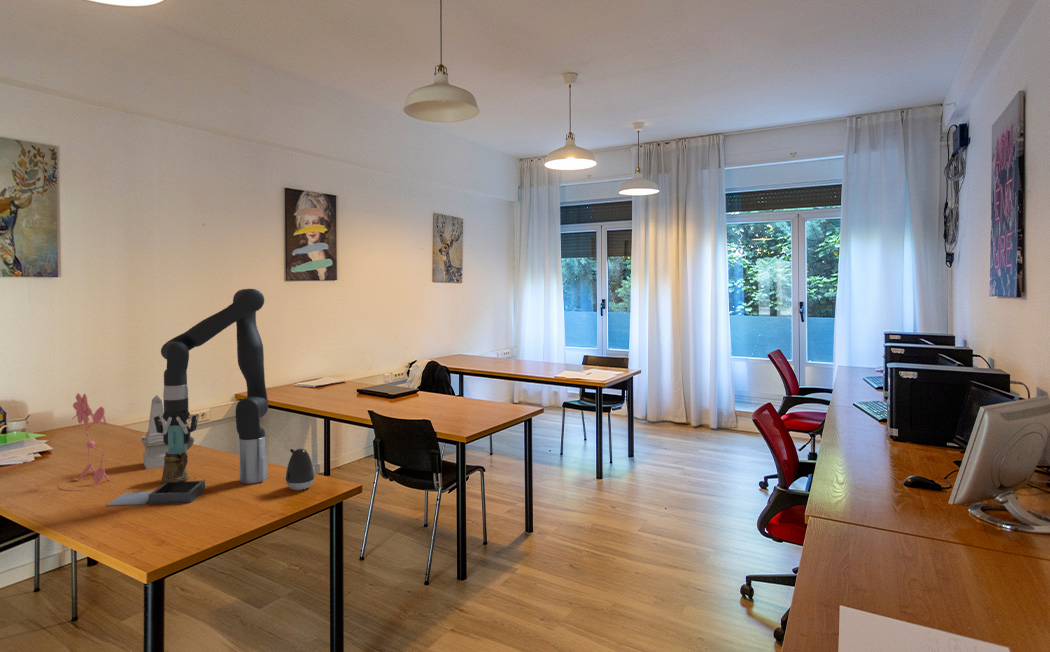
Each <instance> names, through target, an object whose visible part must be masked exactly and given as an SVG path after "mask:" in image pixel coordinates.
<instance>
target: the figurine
mask: <svg viewBox="0 0 1050 652" xmlns="http://www.w3.org/2000/svg"><path fill="white" fill-rule="evenodd" d="M75 400H76V401H75V402H74V403H73V404H72V408H73V409H74V411H75V410H76V411H75V416H73V417H72V420H74V419H75V418H77V422H78V424H79V425H80V424H82V422H83V423H84V424H85V426H86V427H85V429H84V430H85V433H86V437H87V440H88V441H87V442H86V447H87V452H88V453H87V456H88V458H87V459H88V465H87V466H86V467H85V468H84V469H83V470H82V472H81V473H80V475H79V477H78V480H81V479H82V478H83V477H85V476H86V474H87V473H88V472H89V471H90V469H91V470H92V471H93V472H92V473H93V482H94V485H98V484H99V483H100V482H101V481H102V480H103V478H105V479H106V480H107V482H110V479H109V477H108V476H107V474H106V473H105V472H106V471H105V468H104V467H103V466H102V465H103V459H104V453H105V451H104V450H101V449H100V448H98V447H96V442H95V441H94V440H90V436H89V435H90V434H89V431H88V428H90V427H92V426H93V425H95V424H96V425H98V424H99V423H101V424H104V425H106V424H107V420H106V417H105V415H106V414H105V412H106V411H105V408H104V406H102V405H101V406H99V408H98V409H96V410H95V412H94V413H93V410H92V408H90V407H91V406H90V404H89V403H88V402H89V401H88V396H87V394H86V393H83V395H82V394H80V393H76V395H75ZM89 416H91V419H92V421H93V423H91V424H89V422H90V419H89V418H90V417H89ZM92 448H94V449H95V450H98V451H99V452H101V453H102V456H101V461H100V465H99V466H100V467H98V468H97V469H96V470H95V469H94V468H93V462H91V461H90V449H92ZM89 474H91V472H89ZM61 490H62V491H64V489H62V488H59V491H61ZM66 490H67V491H68V492H77V491H78V492H79V491H83V489H82V490H81V489H79V490H69V489H66ZM67 491H66V492H67Z"/></svg>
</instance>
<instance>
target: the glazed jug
mask: <svg viewBox="0 0 1050 652" xmlns="http://www.w3.org/2000/svg"><path fill="white" fill-rule="evenodd" d="M184 425H186V424H184ZM184 434H185V433H184V431H183V428H182V425H170V426H168V454H181V453H184V452H187V451H188V450H187V448H186V444H184Z"/></svg>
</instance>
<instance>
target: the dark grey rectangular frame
mask: <svg viewBox="0 0 1050 652" xmlns="http://www.w3.org/2000/svg"><path fill="white" fill-rule="evenodd" d="M205 490H206V480H205V479H204V480H203V479H202V480H185V481H179V482H165V483H162V484H161V485H160V486H158V487H157V488H156V489H153V491H151V492H152V493H150V494H149V495H148V497H149V502H148V505H153V506H154V505H167V504H171V505H172V504H187V503H189V504H190V503H192V502H194V501H195V499H197V498H198V497H199V496H200V495H201V494H202V493H203V492H204V491H205Z"/></svg>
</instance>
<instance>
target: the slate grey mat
mask: <svg viewBox="0 0 1050 652" xmlns="http://www.w3.org/2000/svg"><path fill="white" fill-rule="evenodd" d="M152 492H153V491H139V492H135V491H134V492H124V493H123V494H120V495H119V496H117V497H116V498H115V499H113V500H111V502H109V503H107V504H106V507H115V506H116V507H118V506H134V505H135V506H137V505H146V504H149V497H148V495H149V494H150V493H152Z"/></svg>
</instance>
